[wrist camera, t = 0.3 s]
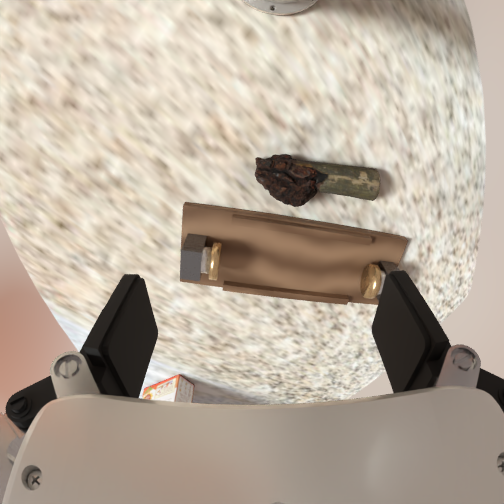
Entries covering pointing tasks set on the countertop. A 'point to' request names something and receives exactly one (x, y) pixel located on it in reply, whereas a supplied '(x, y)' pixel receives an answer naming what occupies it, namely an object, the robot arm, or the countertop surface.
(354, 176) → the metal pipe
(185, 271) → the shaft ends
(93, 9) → the countertop surface
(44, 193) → the countertop surface
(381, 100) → the countertop surface
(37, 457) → the robot arm
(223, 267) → the cradle
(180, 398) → the cracker box
